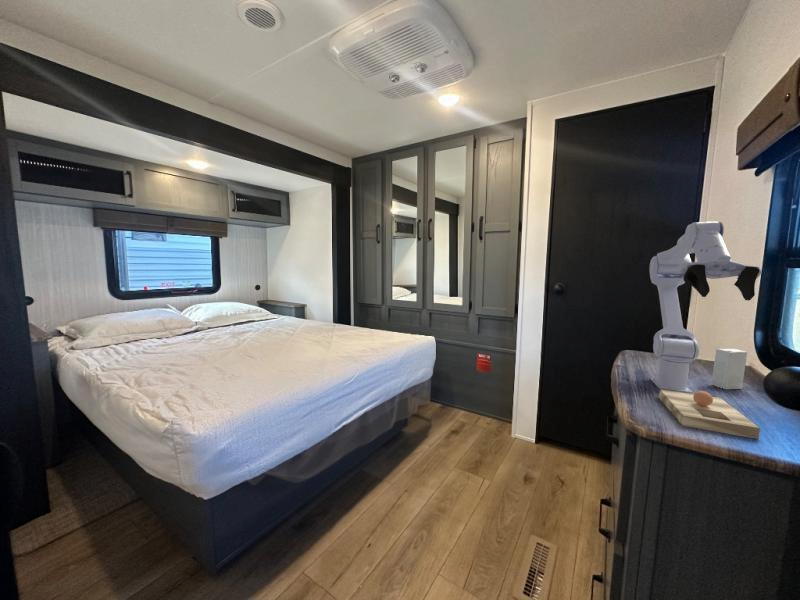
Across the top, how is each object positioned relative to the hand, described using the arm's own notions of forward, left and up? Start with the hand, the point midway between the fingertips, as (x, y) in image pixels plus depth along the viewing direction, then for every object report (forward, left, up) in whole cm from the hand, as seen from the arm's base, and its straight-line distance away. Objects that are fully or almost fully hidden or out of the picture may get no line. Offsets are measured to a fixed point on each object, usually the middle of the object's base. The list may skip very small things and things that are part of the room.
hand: (727, 295), depth 71 cm
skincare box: (-35, +16, -31) cm, 50 cm away
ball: (-7, 0, -27) cm, 28 cm away
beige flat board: (-6, 0, -31) cm, 32 cm away
